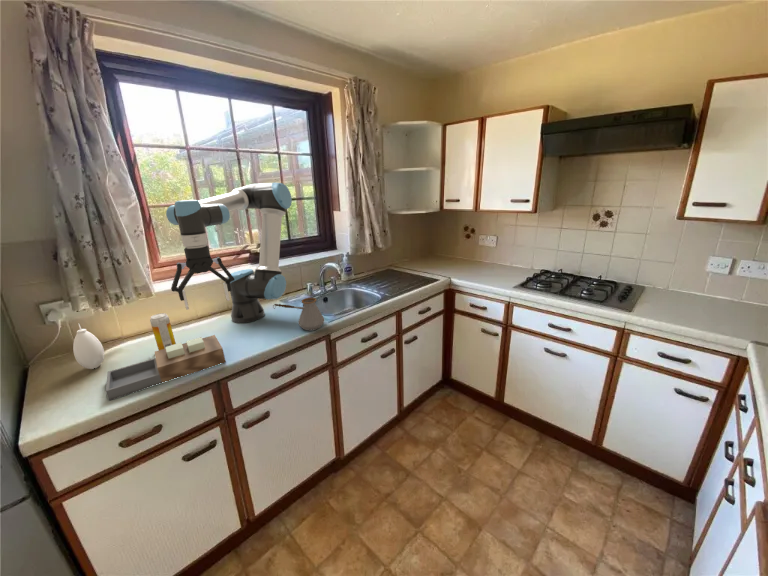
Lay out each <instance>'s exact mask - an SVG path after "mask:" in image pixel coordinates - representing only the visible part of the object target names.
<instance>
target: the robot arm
mask: <svg viewBox="0 0 768 576" xmlns="http://www.w3.org/2000/svg"><path fill="white" fill-rule="evenodd" d="M292 202H293V201H292V194H291V191H290V189H289V187H288V186H287V185H285V183H283V182H276V181H275V182H263V183H262V182H261V183H260V182H259V183H250V184H247V185H244V186H241V187H237V188H234V189H232V190H231V191H230V192H228V193H223V194H220V195H216V196H210V197H208V198H204V199H200V200H198V199H188V200H187V199H186V200H185V199H184V200H177V201H175V202H174V205H169V207H167V208H166V212H165V215H166V218H167V221H168V222H169V223H170V224H171V225H174V226H178V228H179V233H180V237H181V241H182V246H183V247H184V250H183V252H184V255H185V260H186V261H185V262H176V272H175V274H174V277H173V280H172V284H171V287H170V288H171V289H170V290H171V292H176V293H178V297H179V300H180V301H181V302H182V301H183V302H184V305H185V309H186V310H190V308H189V304H188V299H187V295H186V291H185V290H184V289H185V287H186V286H187V285H188V283H189V281H190V280H191V278H192V277H193V275H194V274H201V273H207V272H212V274H213V275H215V276H216V277H218V278H219V279H221V280H222V281H223V284H222V285H223V290H224V294H225V295H224V296H225V299H226V301H228V302H230V301H231V302H232V306H231V307H232V308H231V314H230V318H231V321H232V322H233V323H236V324H237V323H238V324H245V323H252V322H255V321H257V320H260V319H261V318H263V317H264V316H265V309H264V307H263V305H262V303H261V302H260V300H259V299H261V300H267V301H268V300H269V301H270V300H278V299H280V298H281V297H282V296H283V295H284V293H285V291H286V288H287V280H286V277H285V276H284V275H283V274H282V270H281V268H280V265H279V264H280V252H281V251H280V250H281V238H282V234H281V233H282V221H283V220H282V219H283V216H285V215H286V214H287V213H286V211H287V210H288V209H290V208H291V206H292V204H293V203H292ZM249 209H250V210H251V209H254V210H256V209H258V210H259V211H260V213H261V215H262V219H261V231H260V232H261V234H260V247H259V249H260V250H259V259H258V260H259V263H258V267H256V268H255V269H252V268H247V269H241V270H237V271H234V272H232V273H231V272H230V271H229V270H228V268H227V267H226V266H225V264H223V261H222V260H223V259H222V258H221V257H219V256H217V257H215V258H212V257H211V252H210V247H209V245H208V239H207V233H206V232H207V231H206V228H207V227H211V226H212V227H213V226H218V225H220V226H221V225H224V224H227V222H229V220H230V217H231V213H230V212H233V211H244V210H249ZM213 263H215V264H216V265H218V266H219V267H220V268H221V270H222V271H223V272H224V274H225V275H226V276H227V277H225V276H224V275H223V274H221V272H219V271H217V270H216V269H215V268H214V267H212V266H213ZM185 267H187V268H188V269H189V270H188V271H187V272H186V275H185V276H184V278H183V279H182V281H181V283H180V284H179V281H180V278H181V275H182V272H183V270H184V268H185ZM178 284H179V285H178ZM229 293H230V295H229ZM230 296H231V297H230ZM230 298H231V300H230Z"/></svg>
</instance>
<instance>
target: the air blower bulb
mask: <svg viewBox="0 0 768 576" xmlns="http://www.w3.org/2000/svg"><path fill="white" fill-rule="evenodd" d="M77 324H78V327H79V329H78V330H77V331H76V335H75V336H74V339H73V345H72V346H73V347H72V348H73V349H72V350H73V355H74V358H75V360H76V362H77V363H78V365H80V366H81V367H83V368H84V369H89V370H92V369H93V370H95V369H97V368H99V367H100V366H101V364H102V363H104V359H105V350H104V346H103V344H102V342H101V341H100V340H99V339H98V337H97V336H96V335H94V334H93V333H92V332H90V331H88V330H87V328H82V326H81V325H80V323H79V322H78V323H77ZM94 368H95V369H94Z"/></svg>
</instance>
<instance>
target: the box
mask: <svg viewBox="0 0 768 576" xmlns="http://www.w3.org/2000/svg"><path fill="white" fill-rule="evenodd" d="M159 383H162V381H161V378H160V375H159V371H158V368H157V363H156V357H154V358H150V359H148V360H144V361H140V362H136V363H134V364H130V365H126V366H123V367H119V368H115V369H112V370H109V371H107V375H106V385H105V393H106V396H107V399H108V401H112V400H116V399H118V398H119V399H120V398H122V397H124V396H128V395H131V394H134V393H137V392H139V390H141V391H143V390H142V389H144V388H147V387H150V386H152V385H156V384H159ZM162 384H163V383H162ZM159 385H160V384H159ZM156 386H157V385H156ZM150 388H151V387H150ZM147 389H148V388H147ZM144 390H145V389H144ZM136 391H137V392H136ZM133 392H134V393H133Z"/></svg>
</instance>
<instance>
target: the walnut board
mask: <svg viewBox="0 0 768 576" xmlns="http://www.w3.org/2000/svg"><path fill="white" fill-rule="evenodd" d="M201 338H202V340H203V341H204V345H205V348H203V349H200V350H197V351H193V352H189V349H188V347H187V343H186V342H184V343H182V346H183V349H184V352H185V354H183V355H180V356H176V357H173V358H169V359H168V355H167V352H166V349H162V350H156V351H154V358H156V363H157V368H158V371H159V375H160V378H161V381H162V382H165V381H168V382H170V381H169V380H171V379H174V378H177V377H180V378H182V377H181V376H183V377H186V376H188V375H187V374H189V375H191V373H192V374H195V373H198V372H202V371H204V370H203V369H205V370H208V369H209V367H211V368H213V367H212V366H214V367H216V366H215V365H217V366H219V365H218V364H220V363H223V364H225V363H224V362H227V361H226V358H225V353H224V349H223V346H222V345H221V343H220V341H219V339H218V338H217V336H216V335H215V334H213V335H210V336H205V337H201ZM220 365H221V364H220ZM207 368H208V369H207ZM201 370H202V371H201ZM194 372H195V373H194ZM185 375H186V376H185ZM177 379H178V378H177ZM174 380H175V379H174ZM171 381H172V380H171ZM165 383H166V382H165Z"/></svg>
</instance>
